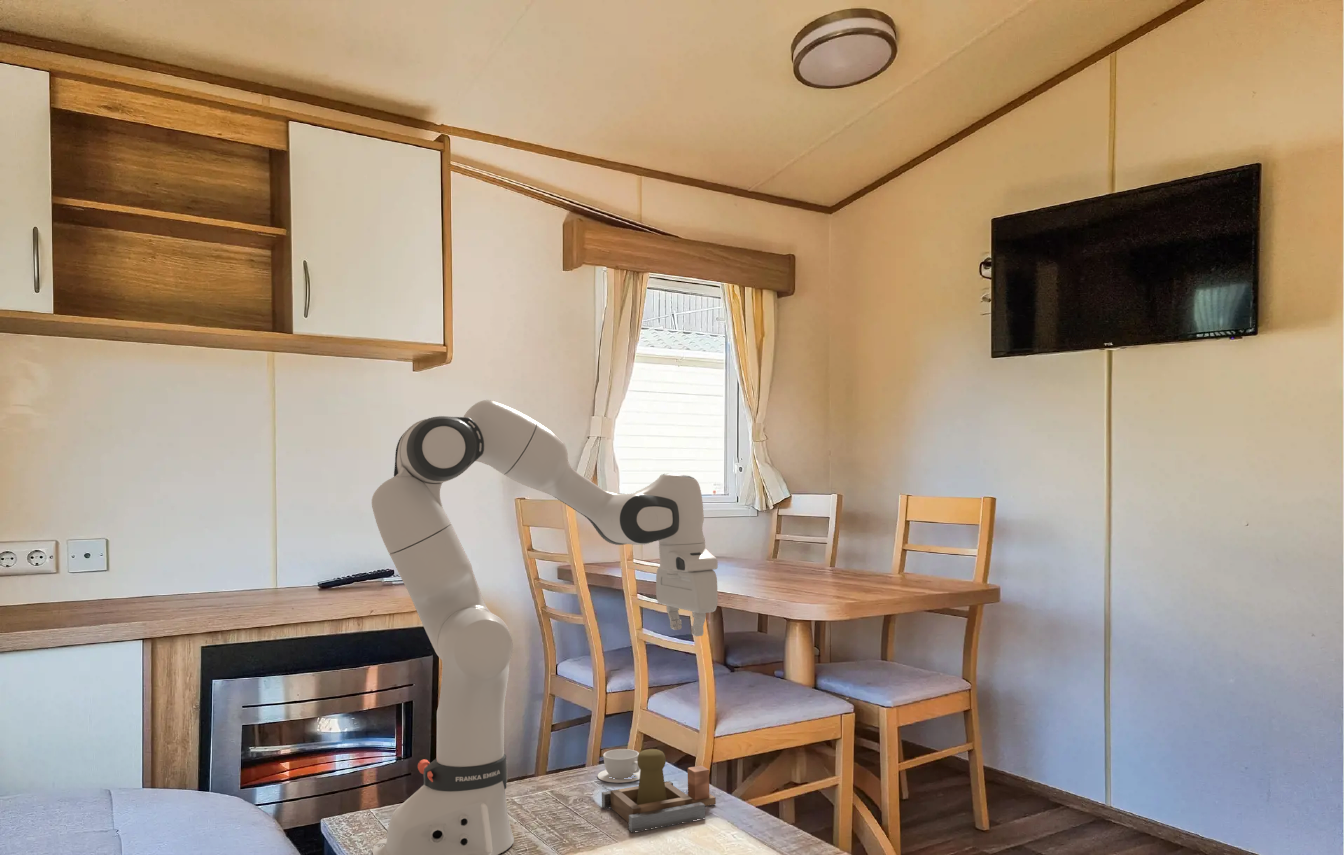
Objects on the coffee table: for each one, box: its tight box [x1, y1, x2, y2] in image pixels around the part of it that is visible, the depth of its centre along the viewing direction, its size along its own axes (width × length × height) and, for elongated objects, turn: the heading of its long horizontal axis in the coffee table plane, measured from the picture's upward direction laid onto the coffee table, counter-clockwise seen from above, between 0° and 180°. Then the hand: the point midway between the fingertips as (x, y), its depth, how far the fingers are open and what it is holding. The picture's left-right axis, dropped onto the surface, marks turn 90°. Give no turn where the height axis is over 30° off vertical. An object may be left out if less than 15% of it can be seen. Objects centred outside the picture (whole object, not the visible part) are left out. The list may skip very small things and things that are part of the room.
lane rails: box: [601, 780, 706, 833], centre depth 157 cm, size 14×15×2 cm
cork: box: [637, 748, 667, 805], centre depth 157 cm, size 6×6×11 cm
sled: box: [610, 765, 717, 824], centre depth 158 cm, size 18×11×6 cm, turn 115°
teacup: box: [597, 748, 640, 784], centre depth 179 cm, size 10×10×5 cm
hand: (686, 632), depth 163 cm, fingers open, 8 cm apart
